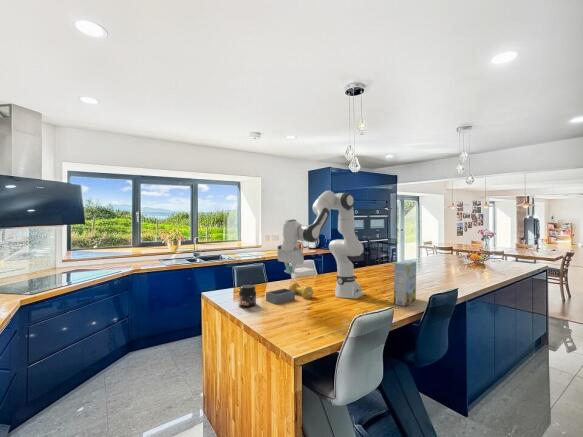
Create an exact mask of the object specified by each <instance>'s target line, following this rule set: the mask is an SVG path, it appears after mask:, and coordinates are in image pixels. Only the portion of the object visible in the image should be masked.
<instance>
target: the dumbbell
mask: <svg viewBox="0 0 583 437" xmlns="http://www.w3.org/2000/svg"><path fill="white" fill-rule="evenodd" d="M288 289H289V290H293V291H295V295H297V294H301V297H302V298H303V299H311V298H312V297H313V294H314V289H313V287H312V286H309V285H307V286H303V287H301V285H300V284H299V283H298V282H291V283H290V285H289V286H288Z"/></svg>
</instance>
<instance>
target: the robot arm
mask: <svg viewBox="0 0 583 437" xmlns="http://www.w3.org/2000/svg"><path fill="white" fill-rule="evenodd" d="M354 203H355V200H354V196H353V195H352V194H351V193H349V192H338V193H335V192H333V191H332V190H325V191H323V192H322V193H321V194H320V195H319V196H318V197H317V198H316V199H315V201H314V202H313V204H312V212H313V214H315V215H316V218H315V220H314V222H313V223H312V224H308V225H305V224H301V223H300V222H298V221H297V219H286V220H285V221H283V224H282V236H283V240H282V243H281V244H279V245H277V246H276V248H277V261H278V262H282V263H284V266H285V267H286V266H290V265H289V264H291V266H292V268H291V271H295V269H296V266H297V265H303V264H304V263H305V261H304V260H305V258H304V252H303V250H302V248H300V247H298V246H299V244H298V242H299V241H300V242H308V243H315V242H317V241H318V240H319V238H320V235H321V232H322V230H323V227H324V226H325V224H326V222H327V221H328V219H329V215H330V211H331V210H335V211H336V210H337V211H338V216H337V218H338V219H337V231H338V233H340V234H341V235H342V236H343V239H338V238H337V239H333V240H331V241H330V242H329V244H328V251H329V252H330V253H331V254H332V255H333V257H334V259H335V263H336V268H337V269H336V270H337V272H336V273H337V275H336V283H335V291H334V296H335V297H338V298H341V299H342V298H343V299H358V298H360V297H363V296H364V295H366V293H365V292H364V291H362V285H361V284H360V283H358V282H357V281H356V279H358V275H355V274H354V270H355V269H354V268H355V267H354V263H353V262H352V261H351V260H350V259H349V258H348V257H358V256H359V257H360V256H361V254H363V252H364V246H363V243H362V242H361V241H360V240H359V239H358V237H357V236H356V232H355V211H354V207H353V206H354Z"/></svg>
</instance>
